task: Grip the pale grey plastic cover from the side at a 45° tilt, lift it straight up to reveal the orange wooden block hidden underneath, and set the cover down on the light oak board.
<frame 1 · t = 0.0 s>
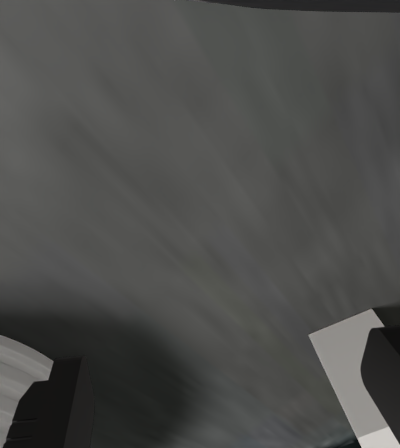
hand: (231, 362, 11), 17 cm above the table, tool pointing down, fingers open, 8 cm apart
cover: (347, 341, 38), on the table
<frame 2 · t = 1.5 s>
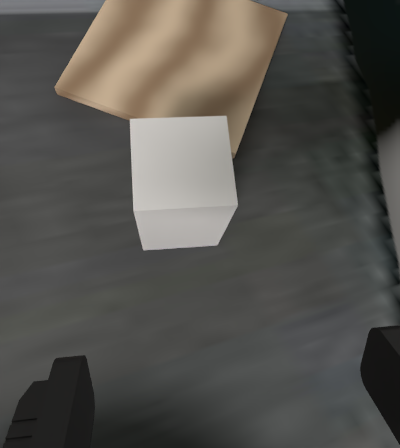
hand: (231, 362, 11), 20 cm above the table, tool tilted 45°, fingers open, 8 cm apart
board: (178, 55, 39), on the table
cover: (178, 212, 33), on the table
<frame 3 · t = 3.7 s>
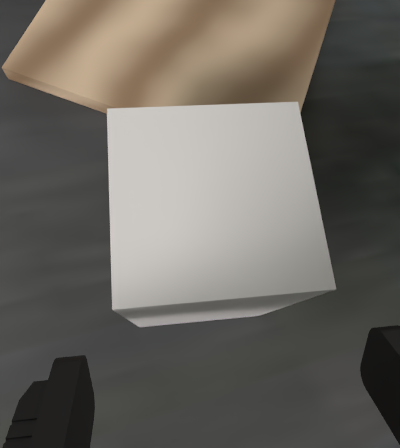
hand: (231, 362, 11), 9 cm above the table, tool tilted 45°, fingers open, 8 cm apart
board: (190, 21, 26), on the table
cover: (194, 262, 21), on the table
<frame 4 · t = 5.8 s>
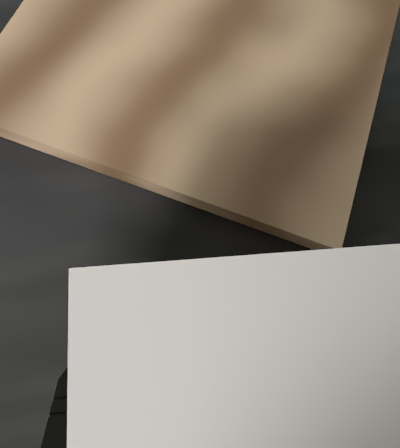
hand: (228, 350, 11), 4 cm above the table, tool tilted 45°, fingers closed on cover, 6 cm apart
board: (207, 42, 20), on the table
cover: (217, 393, 15), on the table, touching gripper
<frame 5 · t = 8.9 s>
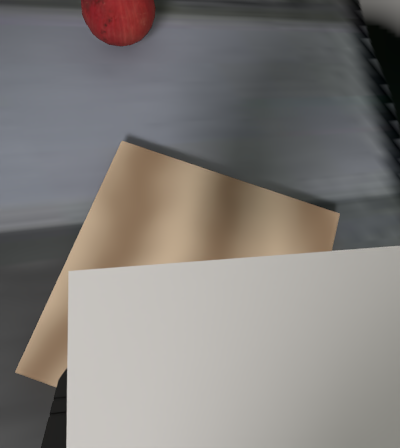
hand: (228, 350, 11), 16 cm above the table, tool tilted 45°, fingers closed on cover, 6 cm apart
onion: (124, 43, 34), on the table
board: (192, 287, 28), on the table
cover: (217, 394, 15), point 12 cm above the table, touching gripper
when the fingers open (7 cm above the table, at t = 12.1 s): cover drops 1 cm, resting on board.
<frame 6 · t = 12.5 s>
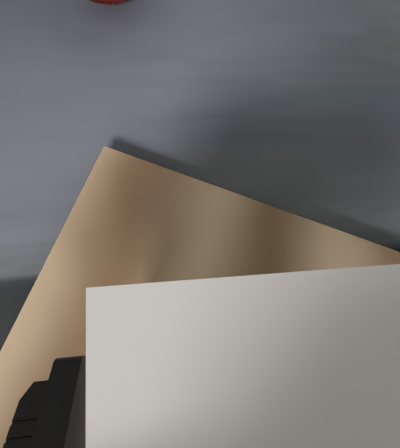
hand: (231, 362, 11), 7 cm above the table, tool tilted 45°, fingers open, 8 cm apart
onion: (114, 3, 24), on the table
board: (210, 387, 17), on the table
cover: (212, 391, 16), point 1 cm above the table, touching board
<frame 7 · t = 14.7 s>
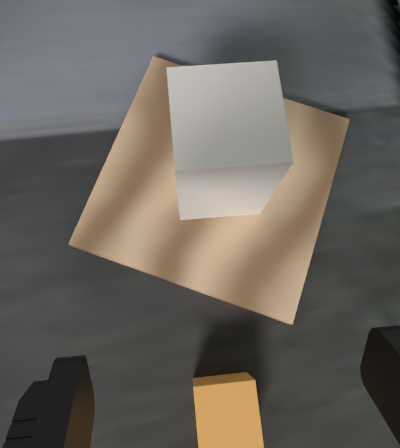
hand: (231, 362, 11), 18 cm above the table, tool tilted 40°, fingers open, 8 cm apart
board: (215, 182, 32), on the table
cover: (216, 179, 31), point 1 cm above the table, touching board
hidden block: (222, 403, 27), on the table
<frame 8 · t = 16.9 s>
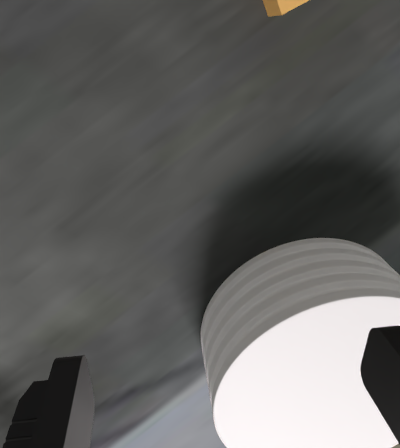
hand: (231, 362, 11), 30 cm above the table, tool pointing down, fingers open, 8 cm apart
plate stack: (300, 325, 52), on the table
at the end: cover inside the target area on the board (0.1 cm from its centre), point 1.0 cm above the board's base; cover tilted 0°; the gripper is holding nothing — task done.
